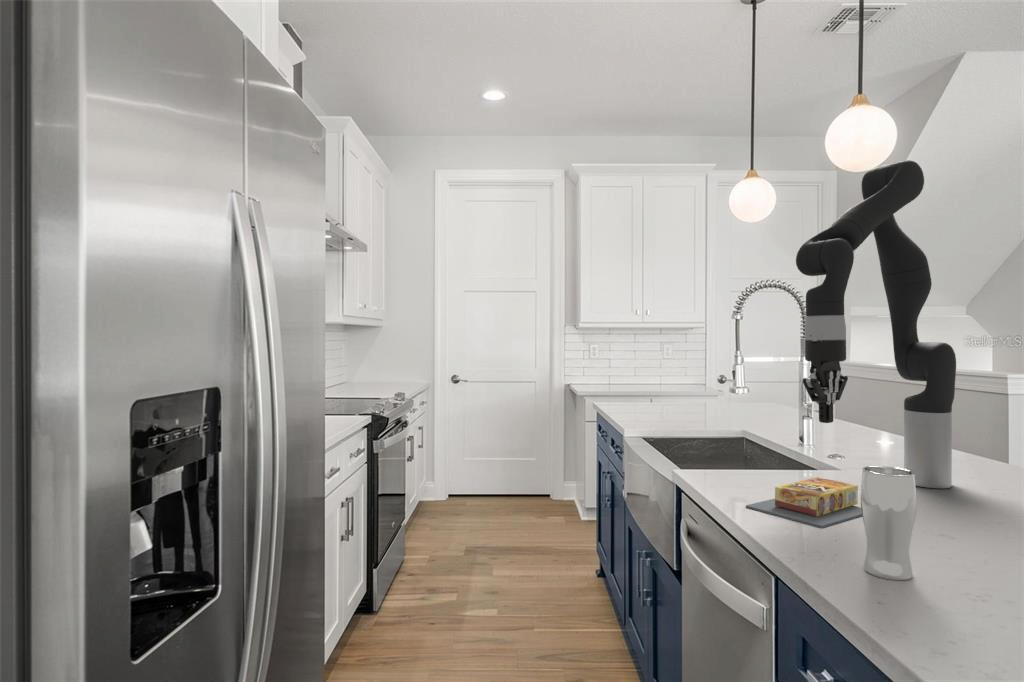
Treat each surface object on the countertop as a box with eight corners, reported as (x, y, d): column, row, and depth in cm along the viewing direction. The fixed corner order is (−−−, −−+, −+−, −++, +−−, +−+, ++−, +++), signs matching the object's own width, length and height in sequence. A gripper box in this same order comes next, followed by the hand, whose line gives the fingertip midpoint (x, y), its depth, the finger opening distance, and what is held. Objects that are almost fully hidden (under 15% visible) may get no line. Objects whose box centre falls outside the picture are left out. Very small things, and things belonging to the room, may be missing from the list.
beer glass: (850, 564, 92) (850, 466, 92) (893, 562, 93) (893, 465, 93) (881, 582, 85) (881, 476, 85) (928, 581, 86) (928, 475, 86)
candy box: (858, 484, 123) (816, 495, 115) (858, 505, 123) (816, 517, 115) (816, 476, 130) (774, 485, 122) (816, 496, 130) (774, 506, 122)
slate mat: (797, 494, 133) (797, 492, 133) (873, 512, 119) (873, 510, 119) (745, 507, 123) (745, 505, 123) (822, 527, 110) (822, 525, 110)
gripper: (825, 337, 131) (826, 417, 131) (789, 338, 124) (790, 423, 124) (861, 337, 125) (861, 421, 125) (824, 338, 118) (825, 427, 118)
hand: (826, 422), depth 124 cm, fingers closed
